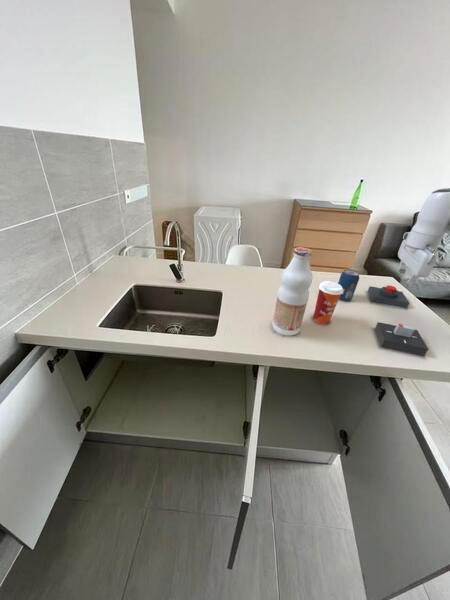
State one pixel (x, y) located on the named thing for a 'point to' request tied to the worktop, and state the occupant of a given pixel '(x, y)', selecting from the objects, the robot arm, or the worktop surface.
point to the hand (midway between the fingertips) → (404, 278)
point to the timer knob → (403, 330)
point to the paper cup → (327, 301)
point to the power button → (390, 289)
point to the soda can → (348, 284)
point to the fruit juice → (293, 293)
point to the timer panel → (400, 340)
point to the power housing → (387, 297)
